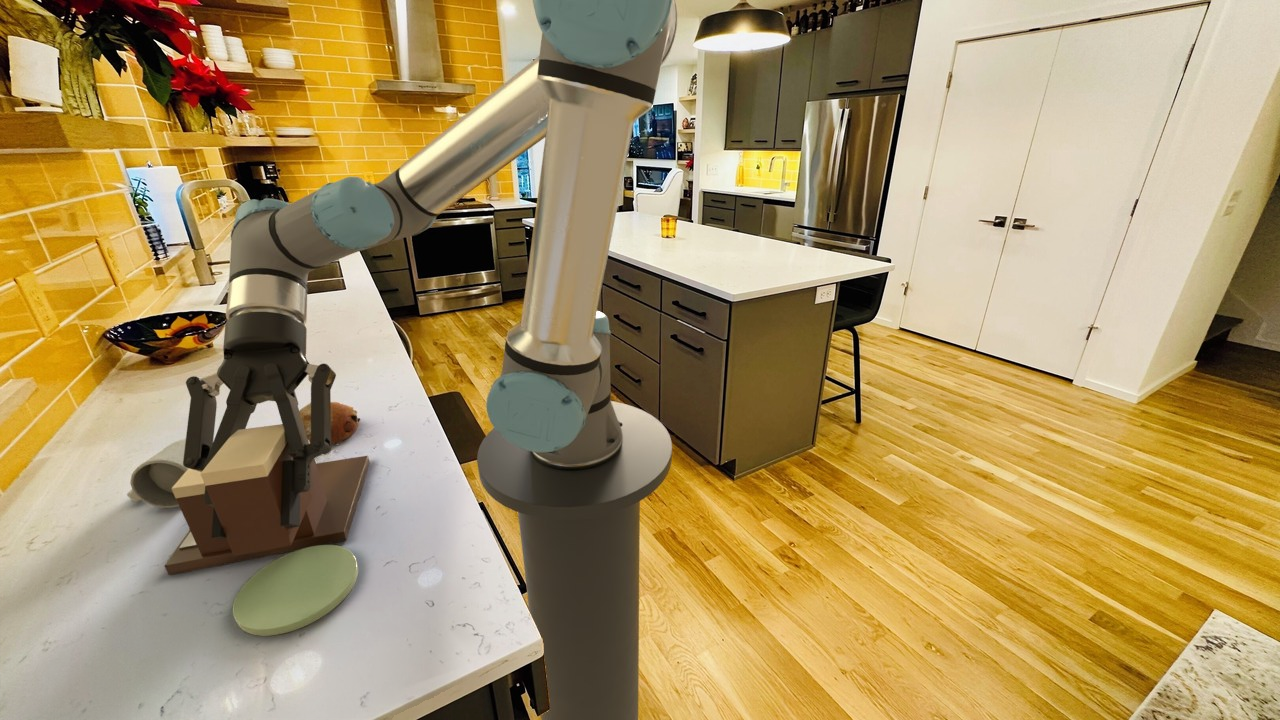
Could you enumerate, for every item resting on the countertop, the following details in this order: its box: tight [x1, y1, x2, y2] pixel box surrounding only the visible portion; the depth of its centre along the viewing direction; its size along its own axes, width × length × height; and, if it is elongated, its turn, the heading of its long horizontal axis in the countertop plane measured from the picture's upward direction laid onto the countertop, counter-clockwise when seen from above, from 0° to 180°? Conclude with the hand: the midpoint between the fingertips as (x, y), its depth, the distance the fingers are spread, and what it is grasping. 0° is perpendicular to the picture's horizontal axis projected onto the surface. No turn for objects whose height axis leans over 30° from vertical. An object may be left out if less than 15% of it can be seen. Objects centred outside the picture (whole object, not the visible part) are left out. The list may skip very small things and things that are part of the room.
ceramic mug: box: [126, 437, 189, 509], centre depth 72 cm, size 11×8×8 cm
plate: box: [232, 544, 359, 637], centre depth 57 cm, size 12×12×1 cm
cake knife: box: [179, 532, 197, 549], centre depth 68 cm, size 14×2×1 cm, turn 18°
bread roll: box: [299, 401, 361, 446], centre depth 88 cm, size 10×10×8 cm
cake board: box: [164, 455, 371, 576], centre depth 70 cm, size 19×18×2 cm
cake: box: [171, 440, 327, 556], centre depth 63 cm, size 12×7×10 cm, turn 108°
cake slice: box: [201, 423, 312, 556], centre depth 52 cm, size 5×8×10 cm, turn 18°
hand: (257, 531), depth 50 cm, fingers closed on cake slice, 5 cm apart
